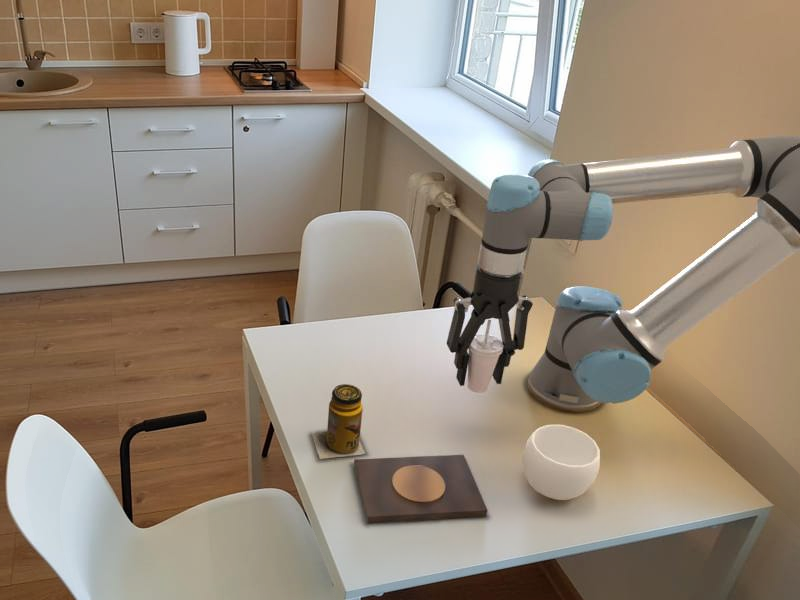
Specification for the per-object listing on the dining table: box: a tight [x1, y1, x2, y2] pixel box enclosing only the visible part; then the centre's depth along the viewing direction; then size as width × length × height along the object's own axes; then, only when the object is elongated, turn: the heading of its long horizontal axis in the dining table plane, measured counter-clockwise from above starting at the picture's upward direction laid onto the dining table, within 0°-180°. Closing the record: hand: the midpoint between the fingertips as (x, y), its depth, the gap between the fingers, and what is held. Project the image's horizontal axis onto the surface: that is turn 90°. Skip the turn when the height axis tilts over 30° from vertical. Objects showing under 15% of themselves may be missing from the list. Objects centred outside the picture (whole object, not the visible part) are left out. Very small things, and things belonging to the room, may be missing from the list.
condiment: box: [311, 383, 366, 460], centre depth 130 cm, size 7×8×12 cm
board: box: [353, 454, 488, 524], centre depth 124 cm, size 20×14×2 cm
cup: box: [522, 424, 601, 501], centre depth 124 cm, size 12×12×10 cm
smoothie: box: [466, 319, 503, 394], centre depth 131 cm, size 6×6×14 cm
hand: (478, 380), depth 134 cm, fingers closed on smoothie, 6 cm apart
